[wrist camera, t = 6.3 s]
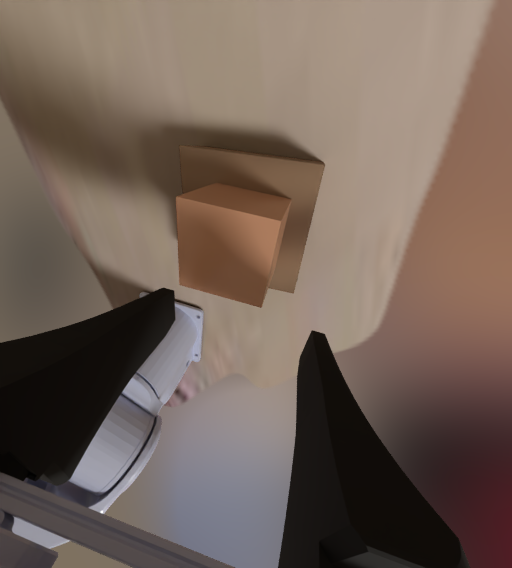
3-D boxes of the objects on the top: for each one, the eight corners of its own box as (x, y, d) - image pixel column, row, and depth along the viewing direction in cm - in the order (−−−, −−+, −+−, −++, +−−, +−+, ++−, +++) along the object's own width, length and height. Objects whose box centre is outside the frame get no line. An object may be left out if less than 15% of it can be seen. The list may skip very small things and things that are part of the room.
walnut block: (297, 270, 21) (293, 293, 17) (207, 252, 22) (188, 270, 18) (323, 161, 16) (324, 165, 12) (205, 146, 17) (178, 145, 14)
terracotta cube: (275, 267, 16) (261, 307, 12) (212, 251, 17) (179, 284, 13) (291, 199, 14) (281, 221, 10) (216, 182, 14) (175, 196, 10)
